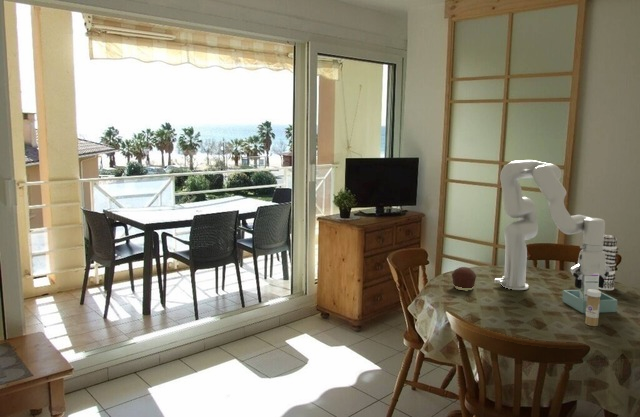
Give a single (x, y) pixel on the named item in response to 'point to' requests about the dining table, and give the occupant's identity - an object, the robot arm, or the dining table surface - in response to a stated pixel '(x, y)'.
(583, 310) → the tote
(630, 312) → the dining table surface
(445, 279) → the dining table surface
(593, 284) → the syrup box
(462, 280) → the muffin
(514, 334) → the dining table surface
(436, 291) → the dining table surface
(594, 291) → the sprinkles bottle
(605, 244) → the decorative candle
